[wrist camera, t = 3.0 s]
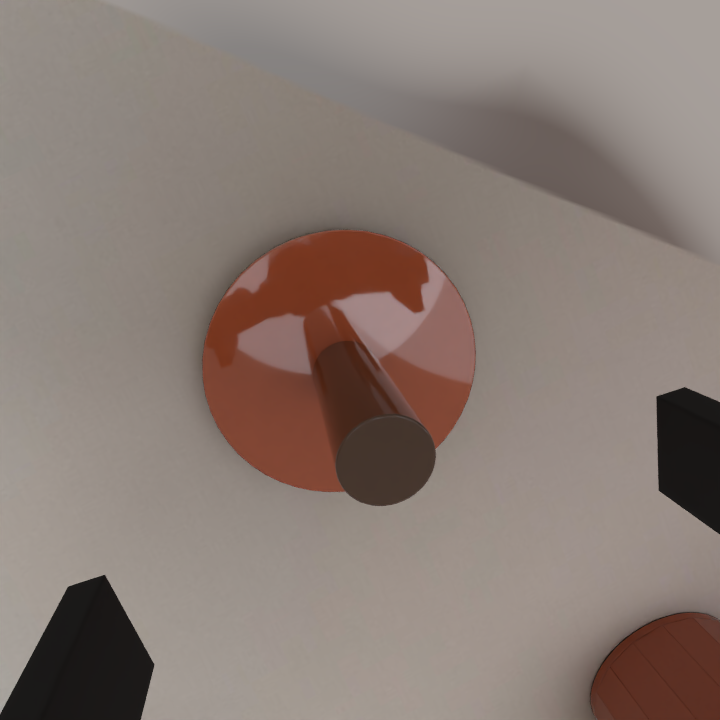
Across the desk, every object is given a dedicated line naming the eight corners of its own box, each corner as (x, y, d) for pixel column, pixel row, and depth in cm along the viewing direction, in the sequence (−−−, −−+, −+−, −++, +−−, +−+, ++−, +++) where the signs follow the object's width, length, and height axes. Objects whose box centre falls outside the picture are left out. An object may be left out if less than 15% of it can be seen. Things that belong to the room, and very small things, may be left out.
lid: (501, 270, 22) (647, 309, 14) (421, 495, 25) (498, 642, 17) (237, 191, 19) (210, 176, 11) (182, 457, 22) (125, 615, 14)
